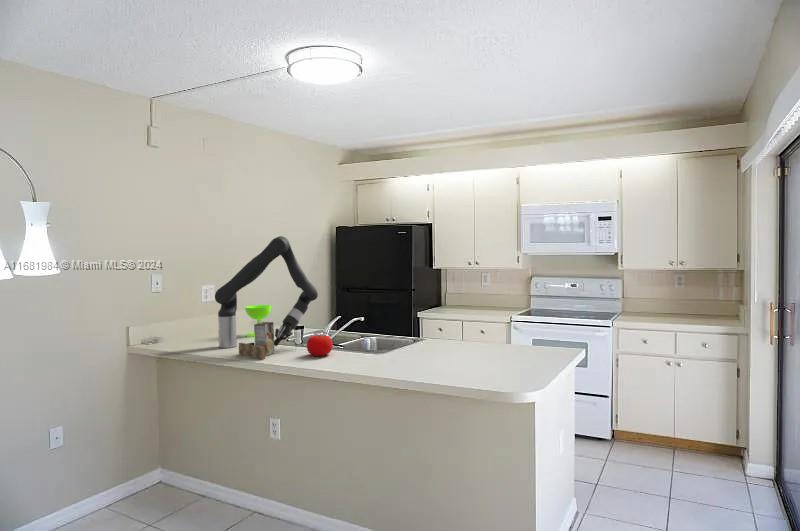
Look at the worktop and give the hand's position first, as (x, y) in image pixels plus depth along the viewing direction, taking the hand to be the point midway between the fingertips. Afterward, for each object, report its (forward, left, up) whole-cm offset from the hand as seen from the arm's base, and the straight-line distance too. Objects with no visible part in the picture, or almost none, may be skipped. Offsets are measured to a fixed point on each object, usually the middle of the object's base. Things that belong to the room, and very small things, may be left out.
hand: (274, 344), depth 295 cm
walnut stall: (0, -12, -4) cm, 12 cm away
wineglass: (-56, +27, -4) cm, 62 cm away
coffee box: (0, -6, -4) cm, 7 cm away
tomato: (+25, +10, -4) cm, 27 cm away
